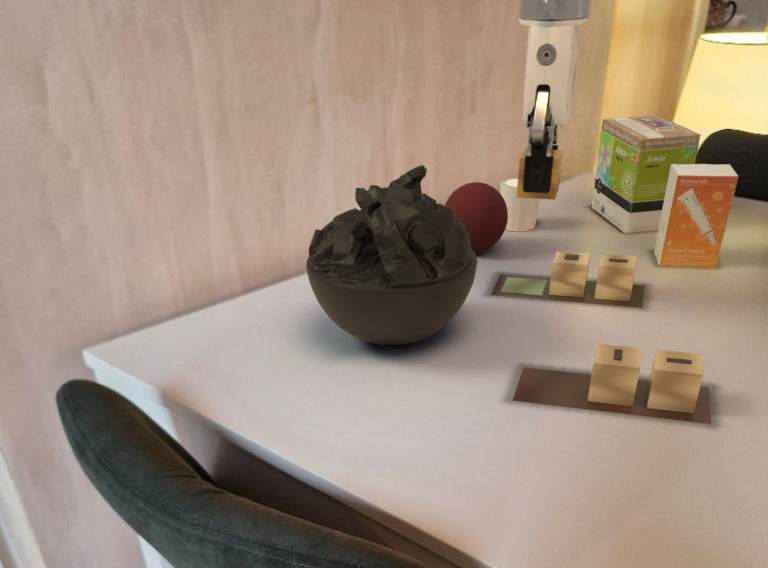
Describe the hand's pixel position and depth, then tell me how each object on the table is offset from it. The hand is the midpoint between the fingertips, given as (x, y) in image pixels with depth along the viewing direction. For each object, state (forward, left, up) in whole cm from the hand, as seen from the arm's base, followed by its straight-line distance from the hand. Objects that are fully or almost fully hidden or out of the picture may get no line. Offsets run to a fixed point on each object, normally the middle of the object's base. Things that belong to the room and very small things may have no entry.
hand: (539, 184), depth 93 cm
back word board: (-2, -6, -15) cm, 17 cm away
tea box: (+8, -40, -16) cm, 44 cm away
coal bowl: (+6, +20, -16) cm, 26 cm away
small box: (-8, -27, -16) cm, 33 cm away
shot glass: (+21, -25, -16) cm, 37 cm away
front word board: (-22, +15, -15) cm, 30 cm away
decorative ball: (+19, -11, -16) cm, 27 cm away
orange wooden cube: (0, 0, -1) cm, 1 cm away
